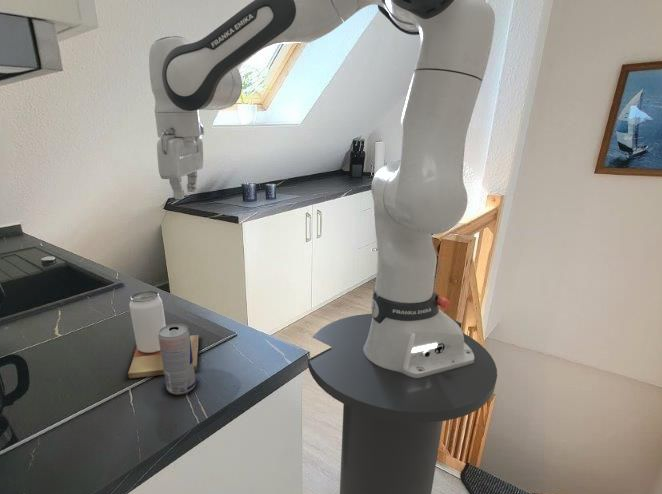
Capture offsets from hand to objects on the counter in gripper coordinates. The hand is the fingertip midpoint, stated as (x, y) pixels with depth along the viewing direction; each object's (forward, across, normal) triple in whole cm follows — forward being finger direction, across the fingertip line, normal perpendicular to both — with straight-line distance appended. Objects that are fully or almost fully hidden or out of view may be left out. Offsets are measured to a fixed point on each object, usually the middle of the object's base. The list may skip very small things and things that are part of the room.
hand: (186, 195), depth 90 cm
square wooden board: (+31, -18, +2) cm, 36 cm away
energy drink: (+31, -28, -4) cm, 42 cm away
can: (+30, -15, +6) cm, 34 cm away
